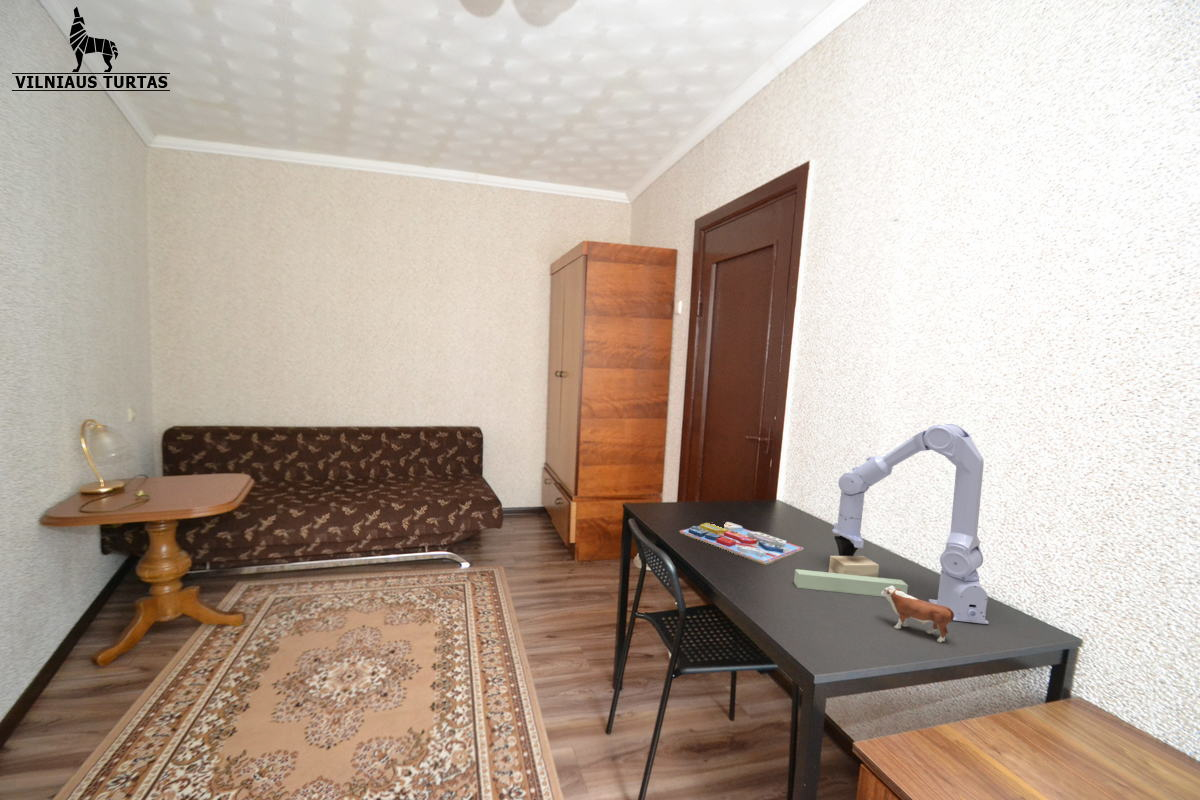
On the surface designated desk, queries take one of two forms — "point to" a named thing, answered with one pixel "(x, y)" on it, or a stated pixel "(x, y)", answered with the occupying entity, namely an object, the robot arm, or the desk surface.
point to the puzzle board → (744, 542)
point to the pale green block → (845, 582)
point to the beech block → (853, 566)
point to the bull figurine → (918, 611)
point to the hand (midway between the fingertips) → (844, 564)
